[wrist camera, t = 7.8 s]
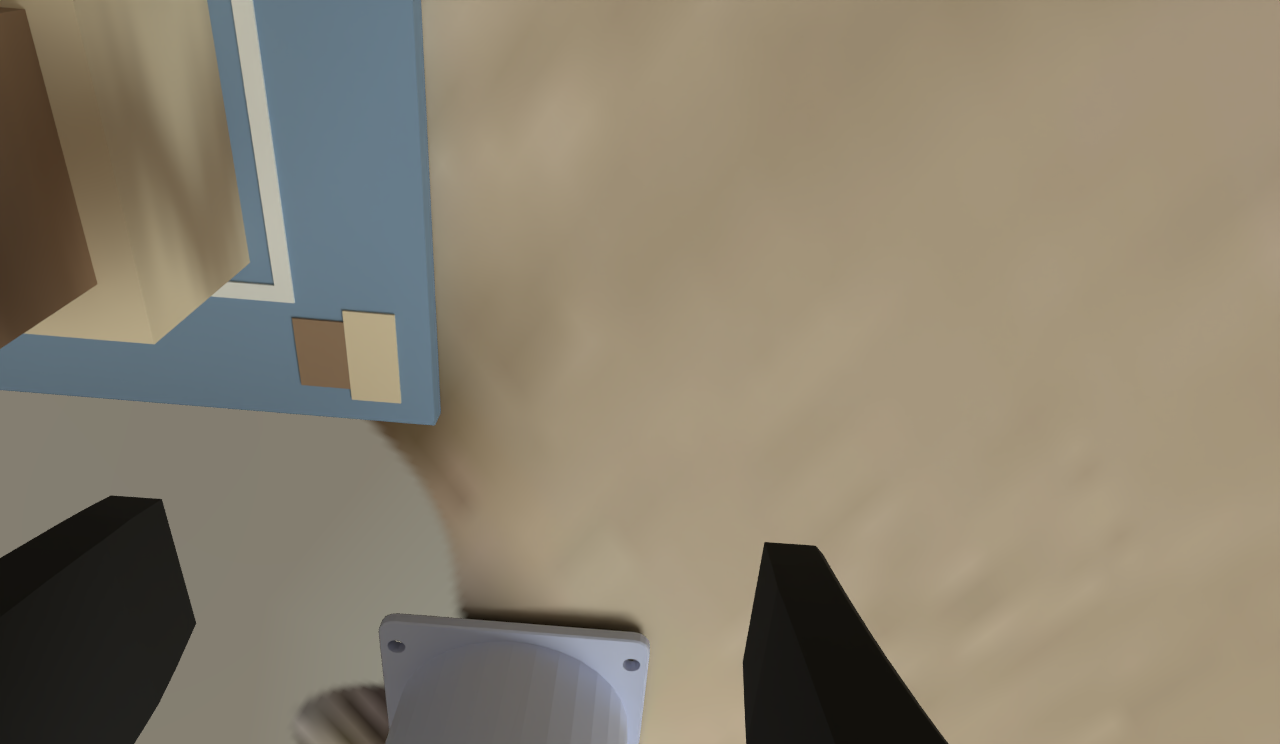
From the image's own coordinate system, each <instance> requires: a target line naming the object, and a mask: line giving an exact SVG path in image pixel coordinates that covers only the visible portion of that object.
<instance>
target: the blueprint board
mask: <svg viewBox="0 0 1280 744" xmlns="http://www.w3.org/2000/svg"><path fill="white" fill-rule="evenodd" d="M207 3H208V9H209V15H210V21H211V27H212V34H213V40H214V46H215V52H216V58H217V64H218V70H219V76H220V82H221V88H222V94H223V101H224V107H225V113H226V119H227V125H228V131H229V137H230V143H231V149H232V155H233V161H234V168H235V174H236V180H237V186H238V192H239V198H240V204H241V210H242V216H243V222H244V229H245V235H246V241H247V247H248V253H249V259H250V263H249V264H248V265H247V266H246V267H244V268H243V269H242V270H241V271H240V272H239V273H237V274H236V275H235V276H234V277H233V278H232V279H230V280H229V281H228V282H227V283H226V284H225V285H223V286H222V287H221V288H220V289H219V290H218V291H216V292H215V293H214V294H213V295H212V296H211V297H209V298H208V299H207V300H206V301H205V302H204V303H202V304H201V305H200V306H199V307H198V308H196V309H195V310H194V311H193V312H192V313H191V314H189V315H188V316H187V317H186V318H185V319H184V320H182V321H181V322H180V323H179V324H178V325H177V326H175V327H174V328H173V329H172V330H171V331H170V332H168V333H167V334H166V335H165V336H164V337H163V338H161V339H160V340H159V341H158V342H157V343H156V344H144V343H132V342H120V341H108V340H96V339H84V338H72V337H59V336H47V335H35V334H22V335H20V336H19V337H17V338H16V339H14V340H13V341H11V342H10V343H8V344H7V345H5V346H4V347H2V348H1V349H0V390H8V391H20V392H33V393H44V394H57V395H69V396H81V397H95V398H106V399H118V400H131V401H143V402H155V403H167V404H179V405H192V406H204V407H217V408H228V409H241V410H253V411H265V412H277V413H290V414H302V415H315V416H327V417H339V418H352V419H363V420H376V421H388V422H400V423H412V424H425V425H435V424H436V422H437V420H438V418H439V415H440V413H441V408H440V387H439V366H438V346H437V325H436V304H435V283H434V262H433V242H432V221H431V200H430V179H429V159H428V138H427V117H426V96H425V75H424V55H423V34H422V13H421V0H207Z"/></svg>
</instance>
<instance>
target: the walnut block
mask: <svg viewBox="0 0 1280 744" xmlns="http://www.w3.org/2000/svg"><path fill="white" fill-rule="evenodd" d="M96 285H97V280H96V276H95V272H94V268H93V265H92V261H91V257H90V253H89V250H88V246H87V242H86V238H85V234H84V231H83V227H82V223H81V219H80V215H79V212H78V208H77V204H76V200H75V197H74V193H73V189H72V185H71V181H70V178H69V174H68V170H67V166H66V162H65V159H64V155H63V151H62V147H61V144H60V140H59V136H58V132H57V128H56V125H55V121H54V117H53V113H52V109H51V106H50V102H49V98H48V94H47V91H46V87H45V83H44V79H43V75H42V72H41V68H40V64H39V60H38V56H37V53H36V49H35V45H34V41H33V38H32V34H31V30H30V26H29V22H28V19H27V15H26V11H25V9H16V8H4V7H0V349H1V348H2V347H4V346H5V345H7V344H8V343H10V342H11V341H13V340H14V339H16V338H17V337H19V336H20V335H22V334H24V333H25V332H27V331H28V330H30V329H31V328H33V327H34V326H36V325H37V324H39V323H40V322H42V321H43V320H45V319H46V318H48V317H49V316H51V315H52V314H54V313H55V312H57V311H58V310H60V309H61V308H63V307H64V306H66V305H67V304H69V303H70V302H72V301H73V300H75V299H76V298H78V297H79V296H81V295H82V294H84V293H85V292H87V291H88V290H90V289H91V288H93V287H94V286H96Z"/></svg>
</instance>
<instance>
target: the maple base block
mask: <svg viewBox="0 0 1280 744" xmlns="http://www.w3.org/2000/svg"><path fill="white" fill-rule="evenodd" d="M0 7H4V8H16V9H25V11H26V15H27V19H28V22H29V26H30V30H31V34H32V38H33V41H34V45H35V49H36V53H37V56H38V60H39V64H40V68H41V72H42V75H43V79H44V83H45V87H46V91H47V94H48V98H49V102H50V106H51V109H52V113H53V117H54V121H55V125H56V128H57V132H58V136H59V140H60V144H61V147H62V151H63V155H64V159H65V162H66V166H67V170H68V174H69V178H70V181H71V185H72V189H73V193H74V197H75V200H76V204H77V208H78V212H79V215H80V219H81V223H82V227H83V231H84V234H85V238H86V242H87V246H88V250H89V253H90V257H91V261H92V265H93V268H94V272H95V276H96V280H97V285H96V286H94V287H93V288H91V289H90V290H88V291H87V292H85V293H84V294H82V295H81V296H79V297H78V298H76V299H75V300H73V301H72V302H70V303H69V304H67V305H66V306H64V307H63V308H61V309H60V310H58V311H57V312H55V313H54V314H52V315H51V316H49V317H48V318H46V319H45V320H43V321H42V322H40V323H39V324H37V325H36V326H34V327H33V328H31V329H30V330H28V331H27V332H25V333H24V334H35V335H47V336H59V337H72V338H84V339H96V340H108V341H120V342H132V343H144V344H156V343H157V342H158V341H159V340H160V339H161V338H163V337H164V336H165V335H166V334H167V333H168V332H170V331H171V330H172V329H173V328H174V327H175V326H177V325H178V324H179V323H180V322H181V321H182V320H184V319H185V318H186V317H187V316H188V315H189V314H191V313H192V312H193V311H194V310H195V309H196V308H198V307H199V306H200V305H201V304H202V303H204V302H205V301H206V300H207V299H208V298H209V297H211V296H212V295H213V294H214V293H215V292H216V291H218V290H219V289H220V288H221V287H222V286H223V285H225V284H226V283H227V282H228V281H229V280H230V279H232V278H233V277H234V276H235V275H236V274H237V273H239V272H240V271H241V270H242V269H243V268H244V267H246V266H247V265H248V264H249V263H250V259H249V253H248V247H247V241H246V235H245V229H244V222H243V216H242V210H241V204H240V198H239V192H238V186H237V180H236V174H235V168H234V161H233V155H232V149H231V143H230V137H229V131H228V125H227V119H226V113H225V107H224V101H223V94H222V88H221V82H220V76H219V70H218V64H217V58H216V52H215V46H214V40H213V34H212V27H211V21H210V15H209V9H208V3H207V0H0Z"/></svg>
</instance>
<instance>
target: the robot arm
mask: <svg viewBox="0 0 1280 744" xmlns="http://www.w3.org/2000/svg"><path fill="white" fill-rule="evenodd" d="M195 625H196V621H195V618H194V614H193V611H192V607H191V603H190V599H189V596H188V592H187V589H186V585H185V582H184V578H183V574H182V571H181V567H180V564H179V560H178V556H177V552H176V549H175V545H174V542H173V538H172V535H171V531H170V527H169V524H168V520H167V516H166V513H165V509H164V506H163V502H162V499H152V498H138V497H123V496H109V497H107V498H105V499H103V500H101V501H100V502H98V503H96V504H94V505H92V506H90V507H88V508H86V509H84V510H82V511H81V512H79V513H77V514H75V515H73V516H72V517H70V518H68V519H66V520H65V521H63V522H61V523H59V524H58V525H56V526H54V527H53V528H51V529H49V530H47V531H46V532H44V533H42V534H40V535H39V536H37V537H35V538H34V539H32V540H30V541H29V542H27V543H26V544H23V545H22V546H20V547H19V548H17V549H15V550H13V551H12V552H10V553H8V554H6V555H5V556H3V557H1V558H0V744H134V743H135V741H136V740H137V738H138V737H139V735H140V733H141V732H142V730H143V729H144V727H145V725H146V724H147V722H148V720H149V719H150V717H151V716H152V714H153V712H154V711H155V709H156V707H157V706H158V704H159V702H160V700H161V698H162V696H163V694H164V692H165V690H166V688H167V686H168V684H169V681H170V680H171V677H172V675H173V673H174V671H175V669H176V667H177V665H178V662H179V661H180V658H181V656H182V654H183V651H184V649H185V647H186V645H187V643H188V640H189V638H190V636H191V634H192V631H193V629H194V627H195ZM379 639H380V649H381V658H382V667H383V676H384V686H385V695H386V704H387V713H388V723H389V733H388V736H387V739H386V742H385V744H639V739H640V730H641V722H642V713H643V705H644V696H645V688H646V679H647V671H648V662H649V654H650V644H649V640H648V639H647V638H646V636H644V635H642V634H640V633H636V632H627V631H614V630H601V629H589V628H576V627H563V626H551V625H538V624H525V623H513V622H500V621H487V620H475V619H462V618H449V617H437V616H424V615H411V614H398V613H397V614H390V615H387V616H385V618H384V619H383V620H382V622H381V625H380V627H379ZM395 640H397V641H400V642H402V643H400V642H396V641H395ZM627 659H635V660H634V661H630V660H627ZM743 679H744V706H745V727H746V744H948V743H947V741H946V740H945V739H944V737H943V736H942V735H941V733H940V732H939V731H938V729H937V728H936V727H935V725H934V724H933V722H932V721H931V720H930V718H929V717H928V716H927V714H926V713H925V712H924V710H923V709H922V708H921V706H920V705H919V703H918V702H917V700H916V699H915V698H914V696H913V695H912V693H911V692H910V690H909V689H908V687H907V686H906V685H905V683H904V682H903V680H902V679H901V677H900V676H899V675H898V673H897V672H896V670H895V669H894V667H893V666H892V664H891V663H890V662H889V660H888V659H887V657H886V656H885V654H884V653H883V651H882V650H881V648H880V647H879V645H878V644H877V642H876V641H875V639H874V637H873V636H872V634H871V633H870V631H869V630H868V628H867V626H866V625H865V623H864V622H863V620H862V619H861V617H860V615H859V614H858V612H857V611H856V609H855V608H854V606H853V604H852V603H851V601H850V599H849V598H848V596H847V594H846V593H845V591H844V589H843V588H842V586H841V585H840V583H839V581H838V579H837V578H836V576H835V574H834V573H833V571H832V569H831V568H830V566H829V564H828V562H827V561H826V559H825V557H824V555H823V554H822V553H821V552H820V550H819V549H818V548H817V547H816V546H811V545H797V544H783V543H769V542H765V543H764V548H763V554H762V559H761V565H760V570H759V576H758V581H757V587H756V592H755V598H754V603H753V609H752V614H751V620H750V625H749V631H748V636H747V642H746V647H745V653H744V658H743Z"/></svg>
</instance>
